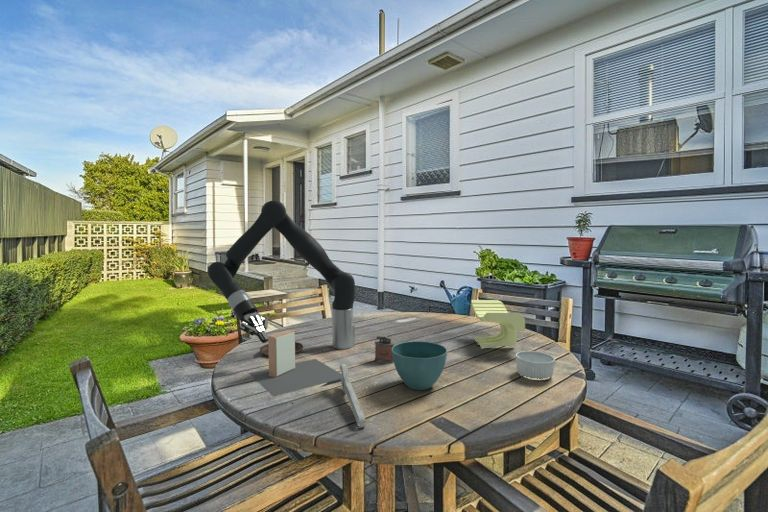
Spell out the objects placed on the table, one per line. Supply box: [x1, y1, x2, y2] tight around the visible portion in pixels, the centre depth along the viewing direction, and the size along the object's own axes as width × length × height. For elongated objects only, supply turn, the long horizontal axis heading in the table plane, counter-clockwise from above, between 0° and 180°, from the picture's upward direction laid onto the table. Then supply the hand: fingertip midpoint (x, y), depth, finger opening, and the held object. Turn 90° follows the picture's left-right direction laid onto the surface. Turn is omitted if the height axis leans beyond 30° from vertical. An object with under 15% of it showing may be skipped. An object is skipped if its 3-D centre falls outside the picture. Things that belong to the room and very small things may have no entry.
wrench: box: [339, 363, 367, 429], centre depth 113 cm, size 8×2×30 cm
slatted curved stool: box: [471, 299, 526, 347], centre depth 174 cm, size 30×16×18 cm, turn 179°
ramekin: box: [514, 350, 556, 379], centre depth 137 cm, size 13×13×7 cm
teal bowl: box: [392, 341, 448, 391], centre depth 128 cm, size 18×18×12 cm
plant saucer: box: [259, 341, 304, 358], centre depth 161 cm, size 18×18×3 cm
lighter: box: [374, 335, 395, 364], centre depth 151 cm, size 8×3×10 cm, turn 65°
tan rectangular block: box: [267, 329, 296, 377], centre depth 137 cm, size 3×10×14 cm, turn 152°
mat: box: [248, 358, 342, 397], centre depth 134 cm, size 26×24×1 cm
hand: (266, 341), depth 140 cm, fingers closed
